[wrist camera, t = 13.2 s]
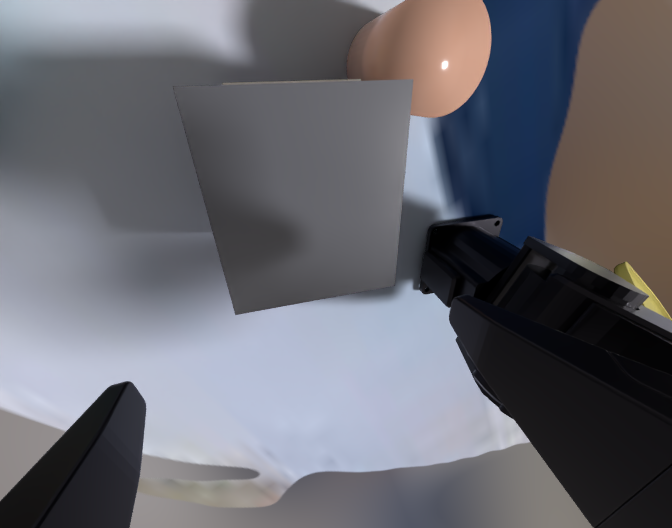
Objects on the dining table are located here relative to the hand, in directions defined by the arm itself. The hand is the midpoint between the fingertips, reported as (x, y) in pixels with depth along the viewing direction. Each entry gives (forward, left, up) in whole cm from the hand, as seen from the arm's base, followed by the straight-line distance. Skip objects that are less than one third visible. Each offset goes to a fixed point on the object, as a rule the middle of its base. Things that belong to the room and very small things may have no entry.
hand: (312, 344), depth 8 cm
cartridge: (-7, -7, -13) cm, 16 cm away
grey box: (-1, -2, -13) cm, 13 cm away
